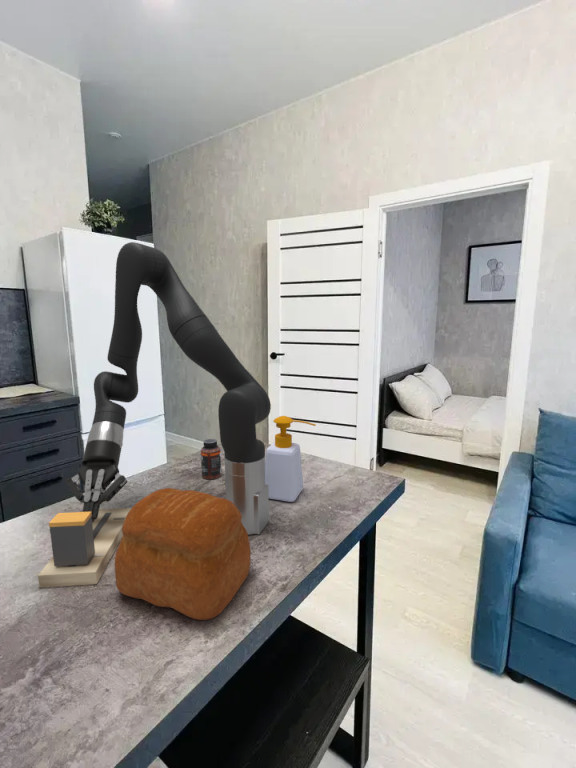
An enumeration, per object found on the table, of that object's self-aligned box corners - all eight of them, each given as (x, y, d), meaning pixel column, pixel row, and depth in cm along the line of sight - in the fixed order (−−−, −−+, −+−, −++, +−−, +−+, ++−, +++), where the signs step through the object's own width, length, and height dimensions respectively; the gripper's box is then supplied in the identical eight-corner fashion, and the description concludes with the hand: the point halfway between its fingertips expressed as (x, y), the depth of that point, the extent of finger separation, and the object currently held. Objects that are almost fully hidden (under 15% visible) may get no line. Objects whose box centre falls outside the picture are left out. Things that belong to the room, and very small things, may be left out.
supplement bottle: (225, 474, 121) (224, 439, 119) (214, 481, 116) (212, 445, 114) (209, 470, 124) (208, 436, 122) (197, 477, 119) (196, 442, 117)
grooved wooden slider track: (90, 519, 95) (89, 509, 94) (133, 517, 96) (132, 507, 95) (39, 587, 71) (37, 575, 71) (96, 584, 72) (95, 571, 72)
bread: (168, 545, 85) (164, 471, 82) (258, 568, 77) (257, 488, 74) (104, 599, 69) (96, 511, 66) (210, 636, 61) (206, 537, 58)
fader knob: (62, 554, 76) (58, 513, 75) (95, 552, 77) (91, 511, 75) (53, 566, 73) (48, 523, 71) (88, 564, 73) (83, 521, 72)
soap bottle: (310, 507, 101) (311, 424, 97) (260, 498, 105) (259, 419, 101) (319, 491, 110) (320, 414, 106) (273, 484, 114) (273, 410, 110)
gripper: (68, 439, 87) (47, 518, 78) (129, 437, 89) (116, 514, 79) (80, 453, 93) (62, 528, 84) (137, 451, 95) (126, 524, 85)
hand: (88, 521), depth 81 cm, fingers closed
